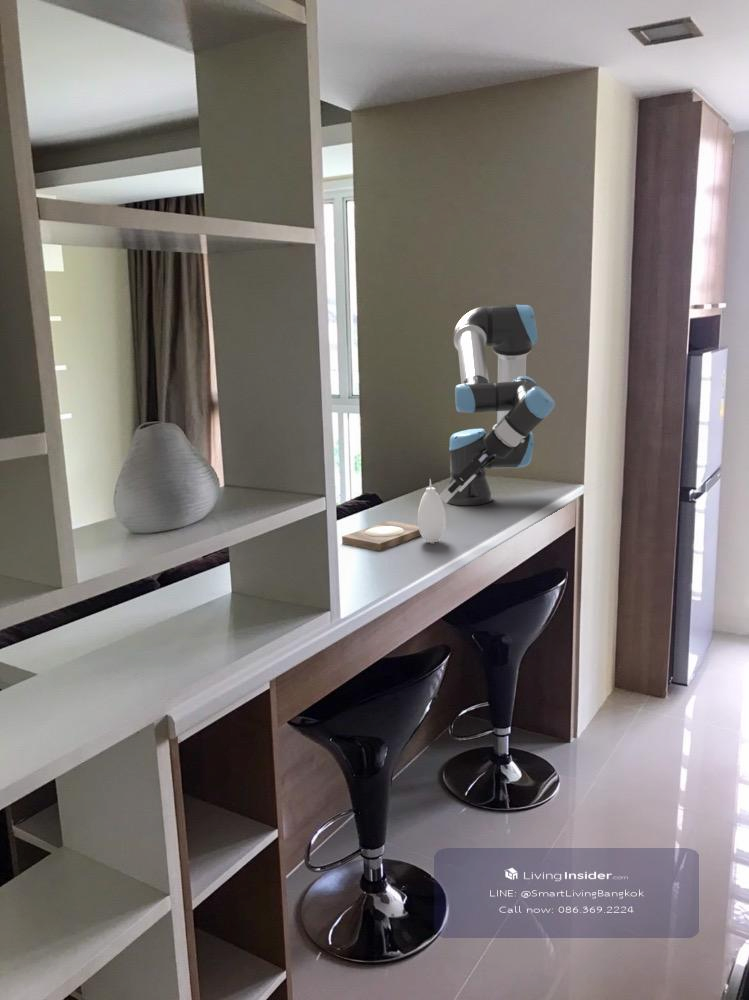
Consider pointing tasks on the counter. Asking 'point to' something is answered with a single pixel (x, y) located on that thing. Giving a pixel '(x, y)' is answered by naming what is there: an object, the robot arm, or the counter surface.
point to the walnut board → (382, 535)
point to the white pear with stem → (431, 516)
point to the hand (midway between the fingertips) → (449, 493)
